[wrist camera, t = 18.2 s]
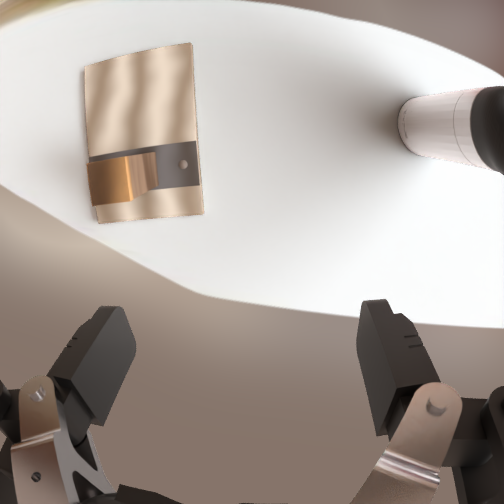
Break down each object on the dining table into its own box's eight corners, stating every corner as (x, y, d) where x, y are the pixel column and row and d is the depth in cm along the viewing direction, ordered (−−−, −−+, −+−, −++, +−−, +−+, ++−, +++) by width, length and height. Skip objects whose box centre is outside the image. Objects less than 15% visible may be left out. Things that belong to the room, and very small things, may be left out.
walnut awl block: (155, 151, 39) (125, 156, 28) (159, 185, 40) (130, 201, 30) (124, 156, 39) (86, 163, 28) (128, 189, 40) (92, 206, 30)
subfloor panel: (192, 45, 35) (190, 42, 33) (204, 211, 43) (202, 214, 42) (89, 68, 35) (84, 66, 34) (102, 221, 44) (98, 224, 42)
